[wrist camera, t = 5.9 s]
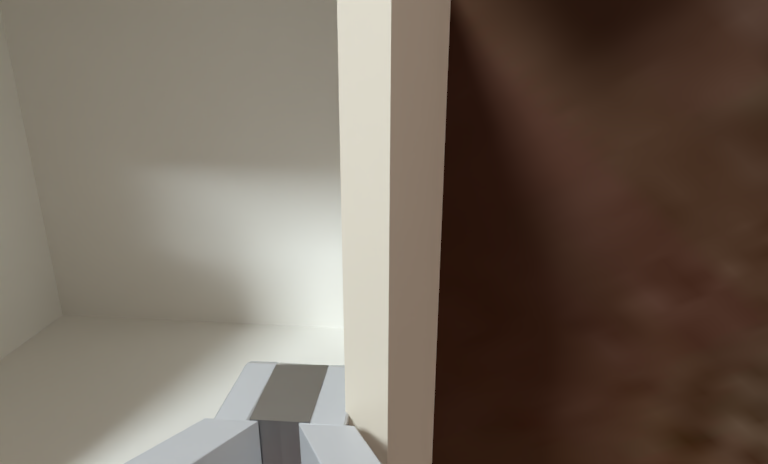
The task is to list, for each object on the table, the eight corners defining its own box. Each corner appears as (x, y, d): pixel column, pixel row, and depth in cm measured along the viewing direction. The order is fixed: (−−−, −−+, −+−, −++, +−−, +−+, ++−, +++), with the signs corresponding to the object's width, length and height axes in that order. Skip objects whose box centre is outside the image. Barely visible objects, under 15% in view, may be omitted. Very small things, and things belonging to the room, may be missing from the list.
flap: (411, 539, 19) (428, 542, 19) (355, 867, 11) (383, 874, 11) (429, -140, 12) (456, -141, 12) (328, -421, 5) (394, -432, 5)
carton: (420, 336, 32) (410, 540, 19) (61, 318, 34) (-180, 495, 21) (432, -46, 26) (429, -144, 12) (-13, -43, 27) (-432, -125, 14)
